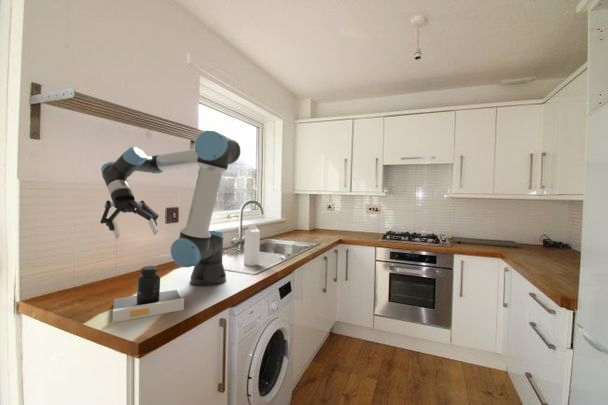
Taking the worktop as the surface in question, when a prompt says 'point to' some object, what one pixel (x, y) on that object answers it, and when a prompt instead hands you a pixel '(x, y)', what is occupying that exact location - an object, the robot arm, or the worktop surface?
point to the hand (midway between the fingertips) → (138, 234)
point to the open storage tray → (146, 306)
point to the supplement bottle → (148, 286)
